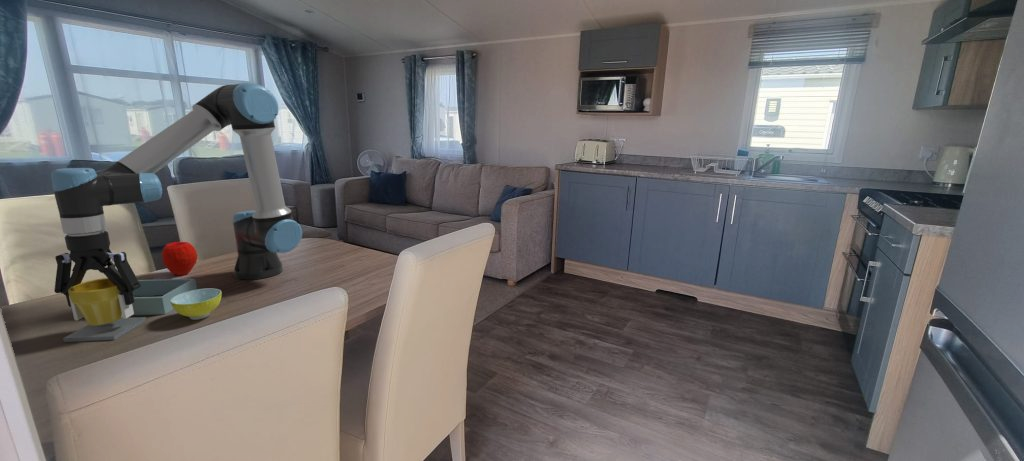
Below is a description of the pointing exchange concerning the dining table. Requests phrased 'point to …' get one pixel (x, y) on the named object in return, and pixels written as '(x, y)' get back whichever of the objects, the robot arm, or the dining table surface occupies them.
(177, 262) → the apple
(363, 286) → the dining table surface
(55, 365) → the dining table surface
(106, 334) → the plate
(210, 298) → the bowl
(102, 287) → the plant pot
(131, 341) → the dining table surface
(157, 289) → the crate
